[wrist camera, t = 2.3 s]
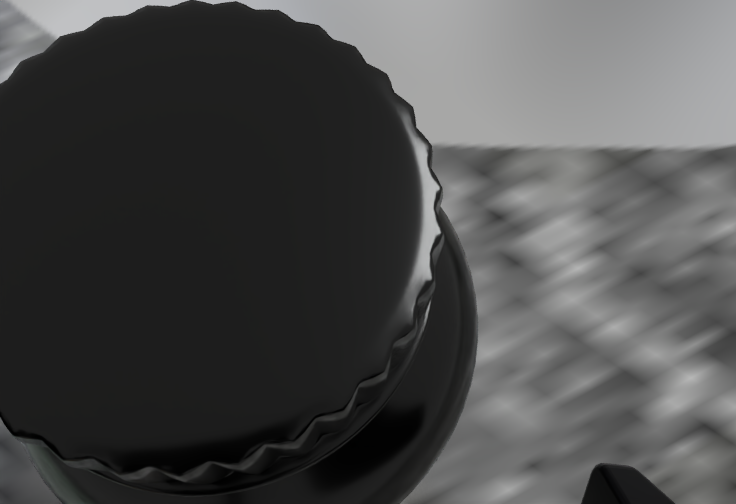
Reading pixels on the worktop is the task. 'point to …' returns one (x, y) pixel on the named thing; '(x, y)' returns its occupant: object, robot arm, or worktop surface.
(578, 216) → the worktop surface
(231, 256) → the supplement bottle
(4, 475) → the worktop surface
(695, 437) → the worktop surface
